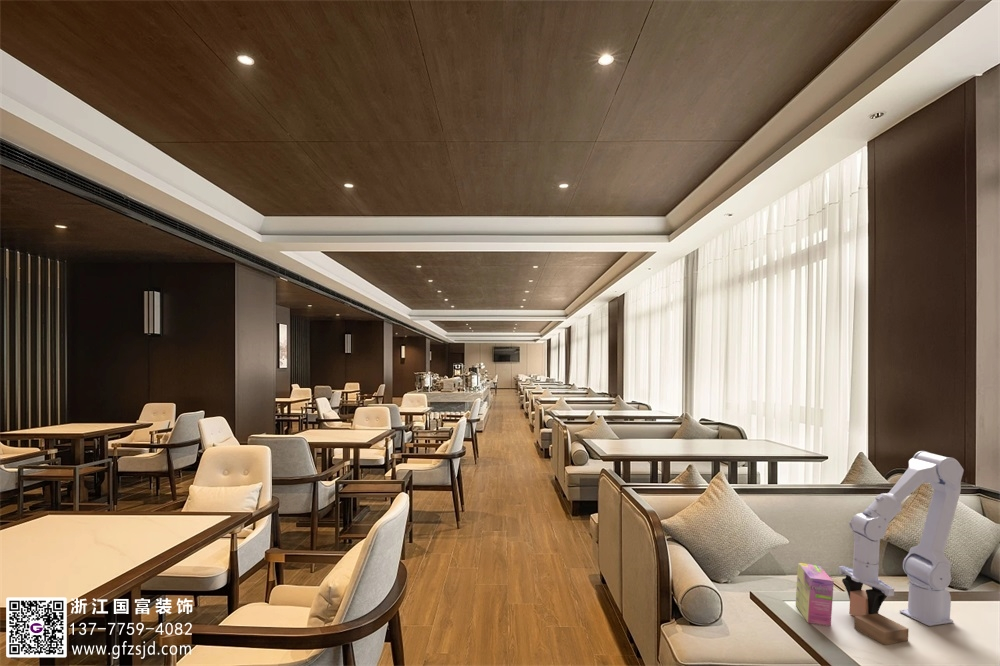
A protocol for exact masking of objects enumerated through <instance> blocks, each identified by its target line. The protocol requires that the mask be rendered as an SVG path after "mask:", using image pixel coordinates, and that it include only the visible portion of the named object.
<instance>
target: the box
mask: <svg viewBox="0 0 1000 666" xmlns="http://www.w3.org/2000/svg"><path fill="white" fill-rule="evenodd" d="M796 573H797V575H796V576H797V577H796V590H795V592H796V594H795V606H796V607H797V608H798V610H799V612H800V613H801V615H802V616H803V618H804V619H805V621H806V623H808V624H812V625H818V626H819V625H820V626H825V627H826V625H827V627H831V626H832V614H833V613H832V612H833V598H834V597H833V596H834V583H835V581H834V580H833V579H832V578H831V576H829V575H828V573H827V572H826V571H825V570H824V569H823V568H822V566H821V565H817V564H811V563H804V562H798V563H797V572H796Z"/></svg>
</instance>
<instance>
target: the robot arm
mask: <svg viewBox="0 0 1000 666" xmlns="http://www.w3.org/2000/svg"><path fill="white" fill-rule="evenodd" d="M964 471H965V470H964V468H963V467H962V465H961V464H960V462H959V461H958V460H957V459H956V458H955V457H948V456H943V455H940V454H936V453H932V452H929V451H925V450H920V451H917V452H916V453H915V454H914V455H913V457H912V458H910V459H909V460H908V467H907V469H906V470H905V472H904V473H903V474H902V475H901V477H900V478H899V479H898V480H897V481H896V483H895V484H894V485H893V487H892V488H891V489H890V490H889V492H887V493H886V492H885V493H884V492H883V493H880V494H878V495H876V496H875V497H874V500H873V501H872V502H871V503H870V504H869V505H868V506H867V507H866V508H865V509H864V510H863V512H859V513H856V514H854V515H853V516H852V517H851V520H850V521H848V522H849V523H848V524H849V528H850V530H851V531H852V537H853V558H852V559H853V560H852V568H851V567H847V566H845V565H841V566H838V572H837V573H838V574H839V575H843V576H845V577H844V578H842V580H841V581H842V583H843V585H844V588H845V590H846V592H847V596H848V598H849V600H850V591H857V590H863V589H862V588H863V585H865V586H867V587H869V588H867V589H865V591H866V594H867V597H868V613H869V615H870V614H877V613H878V614H879V611H880V608H881V606H882V604H883V602H884V601H885V599H886V598H887V597H894V596H895V588H894V587H893V586H890V585H889V584H887V583H886V582H884V581H883V580H881V579H879V570H880V569H879V566H880V565H879V563H880V546H881V545H880V544H881V543H880V542H881V540H882V539H883V538H884V537H885V536H886V534H887V529H888V527H889V524H890V522H891V521H892V520H893V519H894V518H895V517H896V516H897V515H898V514H899V513H900V512H901V510H902V502H903V501H904V500H905V499H906V498H907V497H908V496H910V495H911V494H912V493H913V492H915V490H917V489H918V488H920V486H921V485H922V484H930V486H931V488H932V489H933V493H932V496H931V500H930V503H929V506H928V509H927V514H926V517H925V522H924V524H923V525H924V526H923V530H922V532H921V537H920V538H919V539H920V540H919V542H918V545H914V546H912V547H910V548H909V551H908V553H907V555H906V556H905V557H904V559H903V560H902V569H903V572H904V573H905V574H906V575H907V577H906V578H907V579H908V597H907V598H908V603H907V608H906V609H905V608H904V609H899V612H900V613H901V614H903V615H905V616H907V617H909V618H912V619H914V620H915V621H918V622H919V623H922V624H923V625H926V626H929V627H931V626H937V625H938V626H939V625H943V624H944V625H945V624H951V623H954V619H951V606H952V604H951V603H952V596H951V594H950V590H949V589H948V587H949V585H950V584H951V582H952V575H951V568H952V563H951V562H950V560H949V559H948V557H947V556H946V554H945V551H946V547H947V544H948V539H949V536H950V533H951V529H952V524H953V520H954V517H955V513H956V510H957V506H958V502H959V499H960V495H961V490H962V487H961V482H962V479H963V475H964Z"/></svg>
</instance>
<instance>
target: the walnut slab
mask: <svg viewBox="0 0 1000 666" xmlns="http://www.w3.org/2000/svg"><path fill="white" fill-rule="evenodd" d="M853 625H854V630H856V631H858V632H859V633H862V634H864V635H866V636H868V637H869V638H871V639H873V640H874V639H875V640H874V641H876V640H877V641H876V642H878V641H879V642H878V643H880V644H881V645H884V646H886V645H893V644H899V643H904V642H909V632H910V631H909V630H910V629H909V627H906V626H904V625H902V624H900V623H898V622H896V621H894V620H893V619H891V618H888V617H886V616H884V615H882V614H880V613H879V612H878V613H877V614H870V615H863V616H856V617H855V616H854V624H853Z"/></svg>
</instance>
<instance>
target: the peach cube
mask: <svg viewBox="0 0 1000 666" xmlns="http://www.w3.org/2000/svg"><path fill="white" fill-rule="evenodd" d="M848 614H849V615H851V616H853V617H854V618H855V617H856V616H863V615H869V613H868V597H867V594H866V589H861V590H857V591H850V599H849V611H848Z"/></svg>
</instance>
